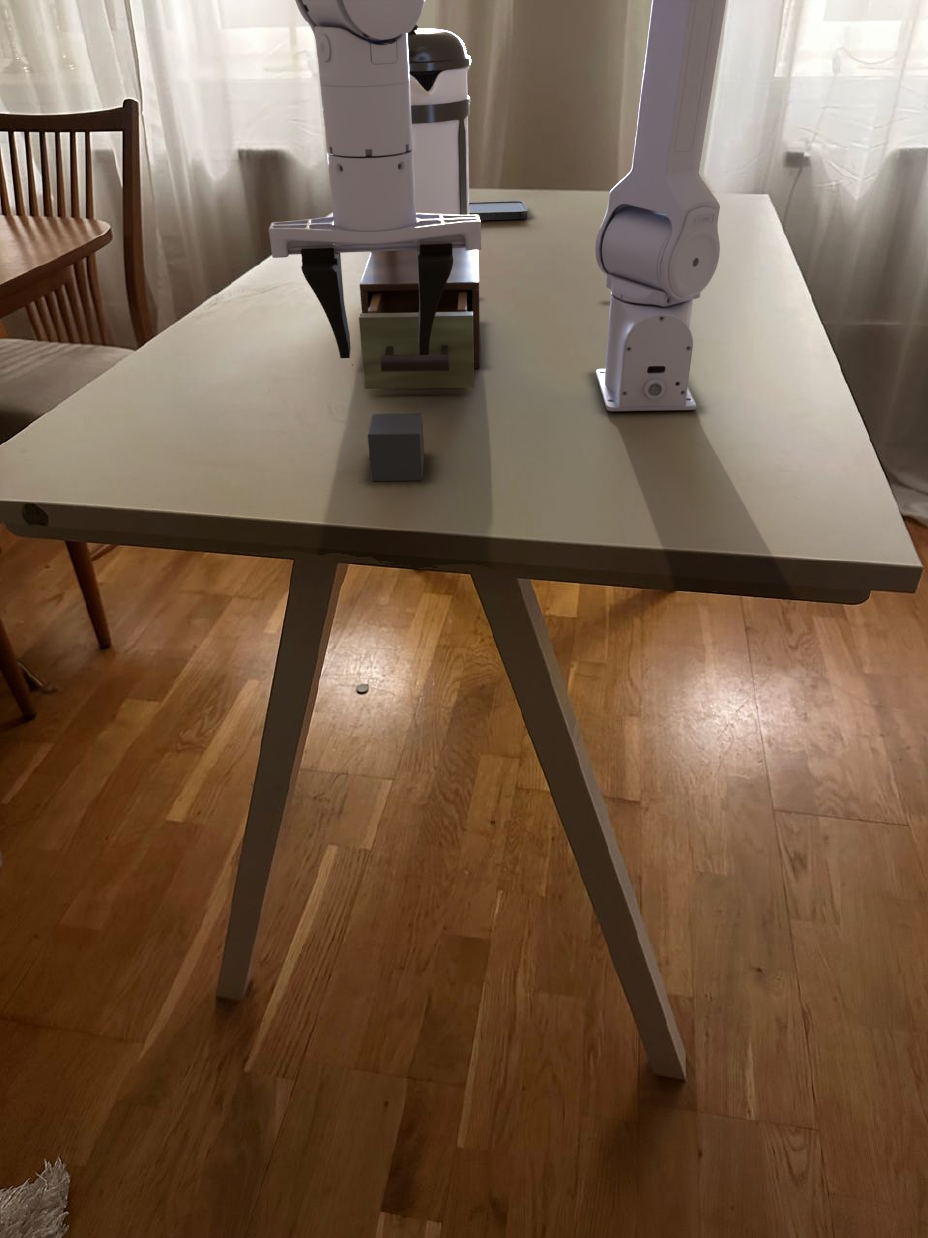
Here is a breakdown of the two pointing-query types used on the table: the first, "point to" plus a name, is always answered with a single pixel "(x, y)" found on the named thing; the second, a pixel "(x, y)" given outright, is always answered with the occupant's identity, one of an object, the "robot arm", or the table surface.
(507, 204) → the phone
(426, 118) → the coffee press
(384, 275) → the cabinet
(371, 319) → the drawer
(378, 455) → the block
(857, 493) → the table surface
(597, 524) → the table surface
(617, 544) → the table surface
